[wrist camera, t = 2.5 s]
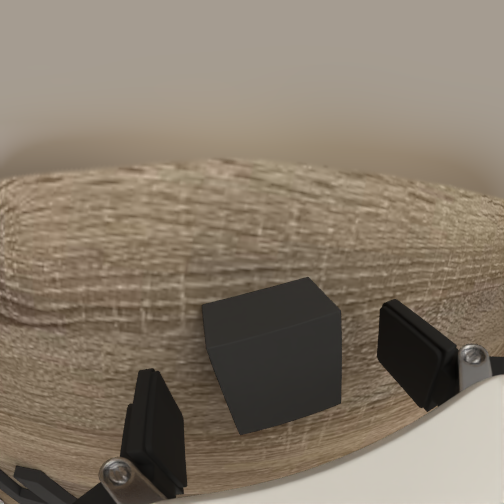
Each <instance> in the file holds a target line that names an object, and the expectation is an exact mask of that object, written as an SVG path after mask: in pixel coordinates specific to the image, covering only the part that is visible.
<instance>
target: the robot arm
mask: <svg viewBox="0 0 504 504" xmlns="http://www.w3.org/2000/svg"><path fill="white" fill-rule="evenodd" d="M456 346H457V345H456V344H454V343H453V342H452V341H451V340H449V339H448V338H447V337H445V336H444V335H443V334H442V333H440V332H439V331H438V330H436V329H435V328H434V327H433V326H431V325H430V324H429V323H427V322H426V321H425V320H423V319H422V318H421V317H420V316H418V315H417V314H416V313H414V312H413V311H412V310H410V309H409V308H408V307H406V306H405V305H404V304H402V303H401V302H399V301H398V300H396V299H393V300H391V301H388V302H386V303H384V304H383V305H382V308H381V309H380V318H379V335H378V348H377V358H378V360H379V362H380V363H381V364H382V365H383V366H384V368H385V369H386V370H387V371H388V372H389V373H390V374H391V375H392V377H393V378H394V379H395V380H396V381H397V382H398V383H399V385H400V386H401V387H402V388H403V389H404V390H405V391H406V393H407V394H408V395H409V396H410V397H411V398H412V399H413V401H414V402H415V403H416V404H417V405H418V406H419V407H420V408H424V409H425V410H426V411H427V412H428V411H430V410H431V409H433V408H434V407H436V406H438V407H437V408H435V409H434V410H432V411H431V412H429V413H427V414H426V415H424V416H423V417H421V418H419V419H418V420H416V421H414V422H412V423H411V424H409V425H407V426H405V427H404V428H402V429H400V430H398V431H396V432H394V433H393V434H391V435H389V436H387V437H385V438H383V439H381V440H379V441H377V442H375V443H373V444H370V445H368V446H366V447H364V448H362V449H360V450H357V451H355V452H353V453H350V454H348V455H346V456H343V457H341V458H338V459H336V460H333V461H331V462H328V463H325V464H323V465H320V466H317V467H314V468H311V469H308V470H305V471H302V472H299V473H296V474H293V475H289V476H286V477H282V478H279V479H275V480H271V481H267V482H263V483H259V484H255V485H250V486H246V487H241V488H236V489H231V490H226V491H220V492H214V493H207V494H200V495H194V496H187V497H180V498H176V495H178V494H184V490H183V487H187V475H186V460H185V443H184V420H183V416H182V413H181V411H180V409H179V408H178V406H177V404H176V402H175V400H174V399H173V397H172V395H171V393H170V391H169V389H168V387H167V385H166V384H165V382H164V380H163V378H162V376H161V374H160V372H159V371H155V370H154V369H153V368H151V369H145V370H140V371H139V372H138V377H137V383H136V388H135V394H134V400H133V404H129V405H128V408H127V413H126V419H125V425H124V431H123V438H122V445H121V453H120V457H115V458H111V459H109V460H107V461H106V462H105V463H104V464H103V465H102V466H101V468H100V470H99V479H100V481H101V482H100V483H98V484H97V485H96V486H95V487H93V488H92V489H91V490H89V491H88V492H87V493H85V494H84V495H83V496H81V497H80V498H79V499H77V500H76V501H75V502H73V503H72V504H504V357H489V355H488V352H487V350H486V349H485V348H484V347H482V346H481V345H478V344H466V345H464V346H462V347H461V348H460V350H458V349H457V348H456Z"/></svg>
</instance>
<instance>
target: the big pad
mask: <svg viewBox="0 0 504 504" xmlns="http://www.w3.org/2000/svg"><path fill="white" fill-rule="evenodd" d="M13 477H14V478H15V479H17V480H18V481H19V482H20V483H22V484H23V485H24V486H25V487H27V488H28V489H29V490H28V489H24V488H22V487H20V486H19V485H18V484H17V483H15V482H14V481H13V480H12V479H11V478H9V477H8V476H7V475H6V474H5V473H4V472H2V471H1V470H0V489H1V490H2V491H4V492H5V493H6V494H7V495H9V496H10V497H11V498H13V499H14V500H15V501H17V502H18V503H20V504H72V503H73V502H75V501H76V500H77V499H76V498H75V497H74V496H72V495H71V494H69V493H68V492H67V491H65V490H64V489H63V488H61V487H60V486H59V485H58V484H56V483H55V482H54V481H53V480H51V479H50V478H49V477H48V476H47V475H45V474H44V473H43V472H42V471H39V470H34V469H29V468H24V467H20V466H16V469H15V472H14V475H13Z"/></svg>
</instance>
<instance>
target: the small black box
mask: <svg viewBox="0 0 504 504" xmlns="http://www.w3.org/2000/svg"><path fill="white" fill-rule="evenodd" d="M202 312H203V323H204V333H205V342H206V350H207V353H208V355H209V358H210V361H211V364H212V366H213V369H214V372H215V374H216V377H217V380H218V382H219V385H220V388H221V390H222V393H223V395H224V398H225V400H226V403H227V405H228V408H229V410H230V413H231V415H232V417H233V420H234V422H235V425H236V427H237V429H238V432H239V434H240V435H243V434H247V433H251V432H255V431H259V430H263V429H266V428H270V427H274V426H277V425H281V424H284V423H287V422H290V421H294V420H297V419H300V418H303V417H306V416H309V415H312V414H314V413H317V412H320V411H323V410H325V409H328V408H331V407H333V406H336V405H338V404H341V383H342V332H341V310H340V309H339V308H338V307H337V306H336V305H335V304H334V303H333V302H332V301H331V300H330V299H329V298H328V297H327V296H326V295H325V294H324V292H323V291H322V290H321V289H320V288H319V287H318V286H317V285H316V284H315V283H314V282H313V281H312V280H311V279H310V278H309V277H306V278H303V279H299V280H295V281H292V282H288V283H284V284H281V285H277V286H273V287H270V288H266V289H262V290H258V291H254V292H251V293H247V294H243V295H239V296H235V297H231V298H227V299H223V300H219V301H215V302H211V303H207V304H203V305H202Z"/></svg>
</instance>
